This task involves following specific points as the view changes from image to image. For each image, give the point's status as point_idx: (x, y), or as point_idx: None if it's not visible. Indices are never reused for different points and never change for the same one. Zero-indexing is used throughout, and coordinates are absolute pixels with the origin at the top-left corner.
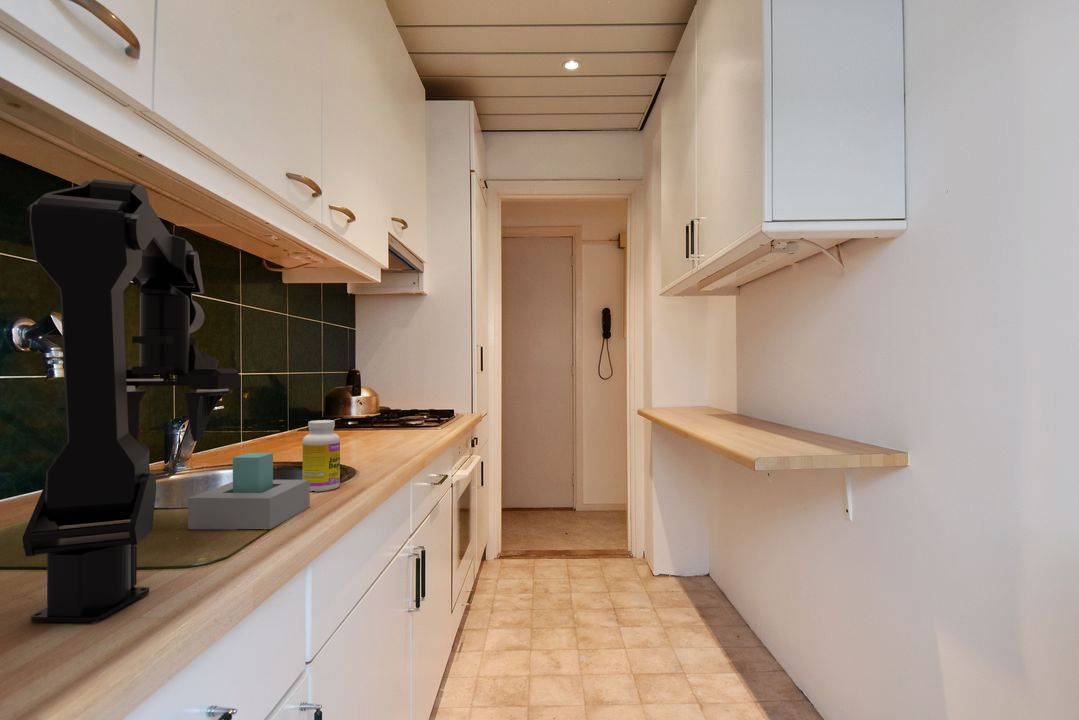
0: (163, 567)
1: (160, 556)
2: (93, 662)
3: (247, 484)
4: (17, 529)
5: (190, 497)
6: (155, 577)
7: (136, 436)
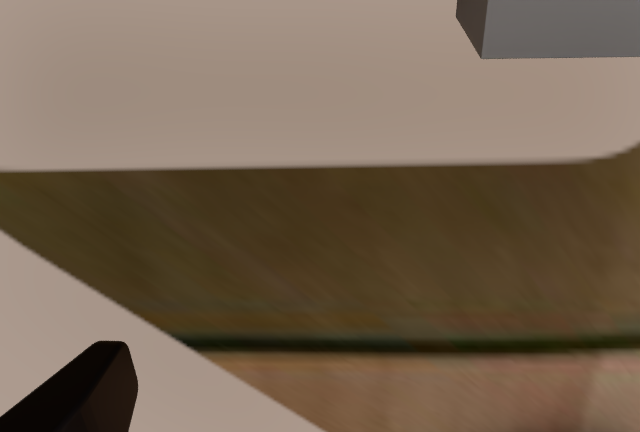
0: (593, 343)
1: (534, 280)
2: None
3: None
4: None
5: (490, 50)
6: (608, 389)
7: (115, 378)
